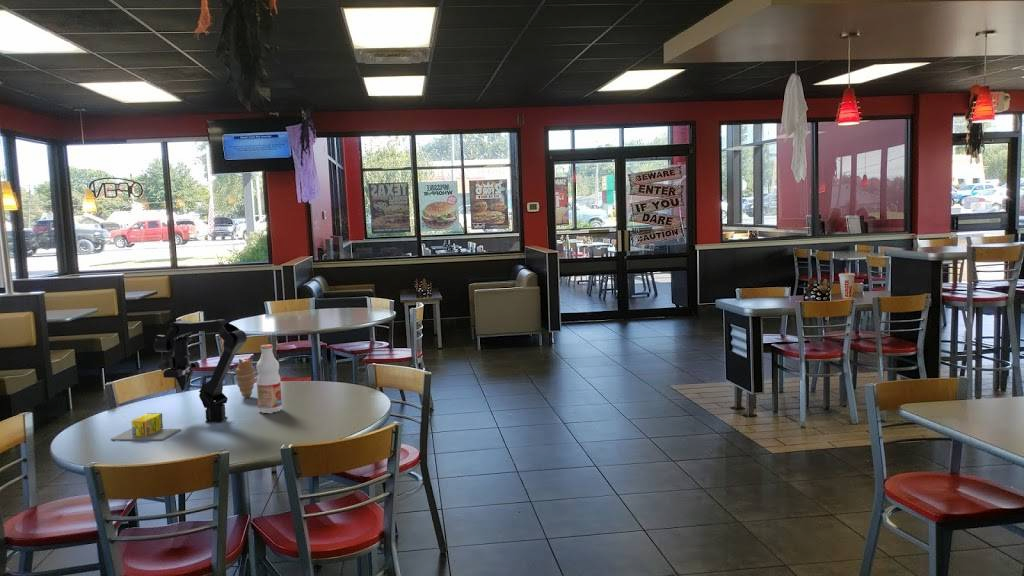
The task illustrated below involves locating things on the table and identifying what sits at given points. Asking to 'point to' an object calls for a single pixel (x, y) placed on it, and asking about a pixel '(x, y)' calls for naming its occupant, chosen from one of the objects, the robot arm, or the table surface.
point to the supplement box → (147, 424)
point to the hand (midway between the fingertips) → (183, 390)
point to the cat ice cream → (245, 377)
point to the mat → (155, 436)
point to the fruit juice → (268, 381)
